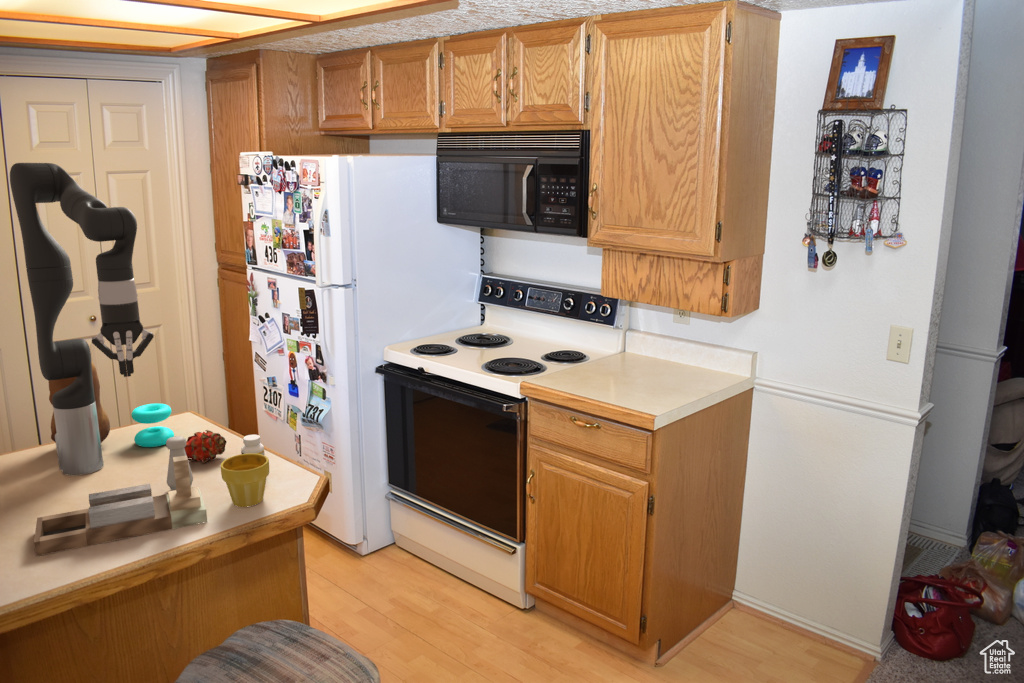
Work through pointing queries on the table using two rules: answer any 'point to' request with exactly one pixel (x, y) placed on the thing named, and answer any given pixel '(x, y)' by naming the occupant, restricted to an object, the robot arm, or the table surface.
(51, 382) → the butternut squash
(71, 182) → the robot arm
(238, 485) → the plant pot
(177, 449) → the salt shaker
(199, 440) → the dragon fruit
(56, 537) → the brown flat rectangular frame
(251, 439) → the supplement bottle
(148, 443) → the donuts
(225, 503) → the table surface
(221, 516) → the table surface
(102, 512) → the grey slotted block
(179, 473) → the slider block
